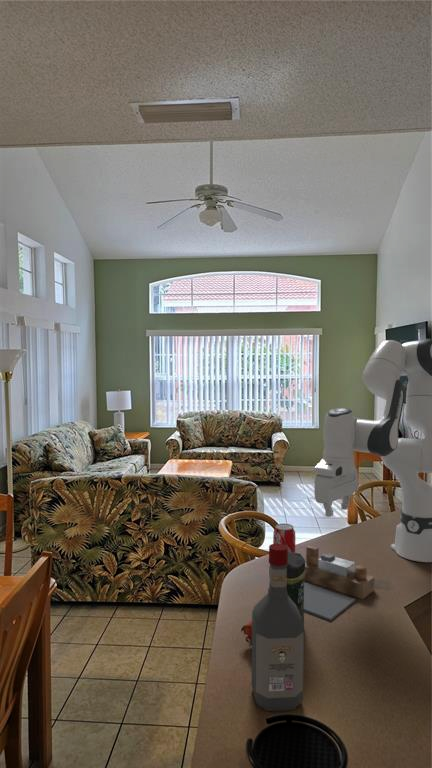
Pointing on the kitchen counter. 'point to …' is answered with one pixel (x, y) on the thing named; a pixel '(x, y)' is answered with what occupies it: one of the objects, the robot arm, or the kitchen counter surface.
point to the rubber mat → (324, 602)
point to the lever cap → (336, 565)
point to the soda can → (285, 536)
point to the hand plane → (338, 577)
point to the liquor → (277, 641)
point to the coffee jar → (296, 580)
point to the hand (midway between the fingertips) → (337, 512)
